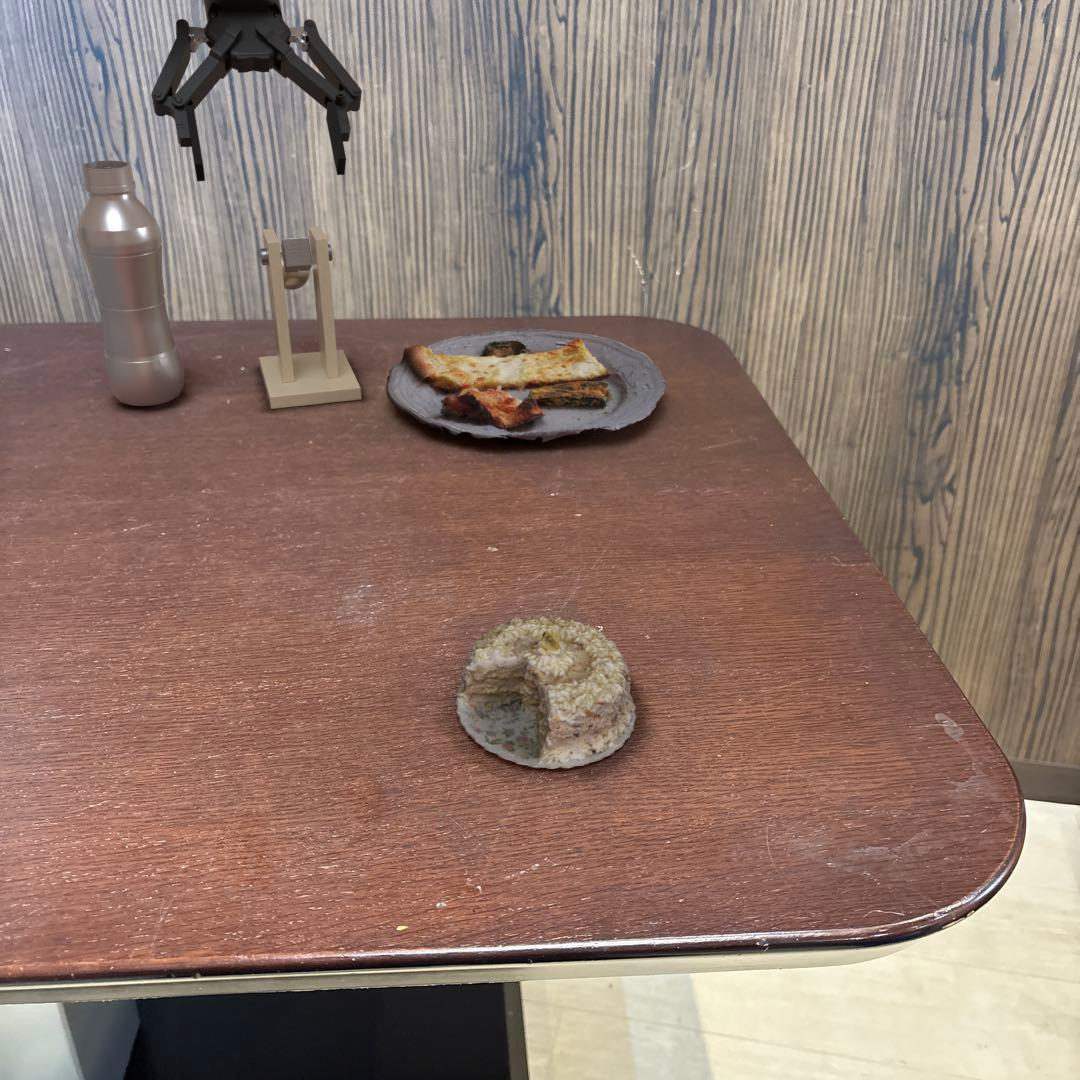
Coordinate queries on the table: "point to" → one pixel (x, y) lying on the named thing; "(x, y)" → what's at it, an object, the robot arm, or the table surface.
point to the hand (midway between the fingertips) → (272, 170)
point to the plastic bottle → (128, 287)
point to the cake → (546, 693)
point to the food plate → (525, 384)
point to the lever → (295, 262)
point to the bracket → (328, 369)
